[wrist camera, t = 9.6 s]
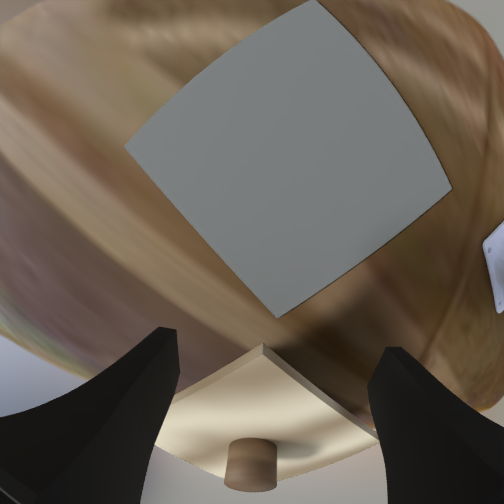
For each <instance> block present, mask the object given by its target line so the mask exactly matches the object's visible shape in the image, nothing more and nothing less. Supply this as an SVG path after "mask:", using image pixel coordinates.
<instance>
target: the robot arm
mask: <svg viewBox="0 0 504 504" xmlns="http://www.w3.org/2000/svg"><path fill="white" fill-rule="evenodd" d="M488 249H489V250H488ZM483 251H484V254H485V258H486V262H487V266H488V270H489V275H490V279H491V284H492V289H493V295H494V300H495V306H496V311H497V313H501V312H502V311H503V310H504V221H503V222H502V223H501V224H500V225H499V226H498V227H497V228H496V229H495V230H494V231H493V232H492V234H491V235H490V236H489V237H488V238H487V239H486V240H485V241H484V242H483ZM179 374H180V367H179V356H178V345H177V332H176V330H175V329H170V328H164V327H158V328H157V329H155V330H154V331H153V332H152V333H151V334H149V335H148V336H147V337H146V338H145V339H143V340H142V341H141V342H140V343H139V344H137V345H136V346H135V347H134V348H133V349H131V350H130V351H129V352H128V353H126V354H125V355H124V356H123V357H121V358H120V359H119V360H117V361H116V362H115V363H114V364H112V365H111V366H109V367H108V368H107V369H105V370H104V371H102V372H101V373H100V374H98V375H97V376H95V377H94V378H92V379H91V380H89V381H88V382H86V383H84V384H83V385H81V386H79V387H78V388H76V389H74V390H72V391H70V392H69V393H67V394H65V395H63V396H61V397H58V398H56V399H54V400H51V401H49V402H47V403H45V404H42V405H40V406H37V407H35V408H32V409H29V410H26V411H23V412H20V413H16V414H13V415H9V416H5V417H0V504H140V500H141V495H142V490H143V485H144V481H145V476H146V472H147V468H148V464H149V460H150V456H151V453H152V450H153V447H154V445H155V442H156V440H157V437H158V435H159V432H160V430H161V427H162V425H163V422H164V420H165V417H166V415H167V412H168V410H169V407H170V405H171V402H172V400H173V397H174V393H175V390H176V386H177V382H178V378H179ZM367 387H368V395H369V402H370V408H371V413H372V416H373V420H374V424H375V427H376V431H377V435H378V438H379V442H380V446H381V449H382V453H383V457H384V462H385V468H386V477H387V492H388V504H504V427H502V426H500V425H499V424H497V423H495V422H493V421H491V420H489V419H488V418H486V417H485V416H483V415H481V414H480V413H479V412H477V411H476V410H474V409H473V408H471V407H470V406H468V405H467V404H466V403H464V402H463V401H462V400H461V399H459V398H458V397H457V396H456V395H455V394H453V393H452V392H451V391H450V390H449V389H447V388H446V387H445V386H444V385H443V384H442V383H441V382H440V381H438V380H437V379H436V378H435V377H434V376H433V375H432V374H431V373H430V372H429V371H428V370H426V369H425V368H424V367H423V366H422V365H421V364H420V363H419V362H418V361H417V360H416V359H414V358H413V357H412V356H411V355H410V354H409V353H408V352H406V351H405V350H404V349H403V348H401V347H386V348H385V351H384V353H383V355H382V357H381V359H380V362H379V364H378V366H377V368H376V370H375V372H374V374H373V376H372V378H371V380H370V382H369V384H368V386H367Z"/></svg>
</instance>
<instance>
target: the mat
mask: <svg viewBox="0 0 504 504" xmlns="http://www.w3.org/2000/svg"><path fill="white" fill-rule="evenodd" d="M124 147H125V148H126V150H127V151H128V152H129V153H130V154H131V156H132V157H133V158H134V159H135V160H136V161H137V163H138V164H139V165H140V166H141V167H142V169H143V170H144V171H145V172H146V173H147V174H148V176H149V177H150V178H151V179H152V180H153V181H154V183H155V184H156V185H157V186H158V187H159V188H160V190H161V191H162V192H163V193H164V194H165V195H166V196H167V198H168V199H169V200H170V201H171V202H172V203H173V204H174V206H175V207H176V208H177V209H178V210H179V211H180V212H181V214H182V215H183V216H184V217H185V218H186V219H187V220H188V222H189V223H190V224H191V225H192V226H193V227H194V228H195V229H196V231H197V232H198V233H199V234H200V235H201V236H202V237H203V238H204V240H205V241H206V242H207V243H208V244H209V245H210V246H211V247H212V248H213V250H214V251H215V252H216V253H217V254H218V255H219V256H220V257H221V258H222V259H223V261H224V262H225V263H226V264H227V265H228V266H229V267H230V268H231V269H232V270H233V272H234V273H235V274H236V275H237V276H238V277H239V278H240V279H241V280H242V281H243V282H244V284H245V285H246V286H247V287H248V288H249V289H250V290H251V291H252V292H253V293H254V294H255V295H256V296H257V298H258V299H259V300H260V301H261V302H262V303H263V304H264V305H265V306H266V307H267V308H268V309H269V310H270V311H271V312H272V314H273V315H274V316H275V317H276V318H279V317H280V316H282V315H283V314H285V313H287V312H288V311H290V310H291V309H293V308H294V307H296V306H297V305H299V304H300V303H302V302H303V301H305V300H306V299H308V298H309V297H311V296H312V295H314V294H315V293H317V292H318V291H320V290H321V289H323V288H324V287H326V286H327V285H329V284H330V283H332V282H333V281H334V280H336V279H337V278H339V277H340V276H342V275H343V274H344V273H346V272H347V271H349V270H350V269H351V268H353V267H354V266H356V265H357V264H358V263H360V262H361V261H362V260H364V259H365V258H367V257H368V256H369V255H371V254H372V253H373V252H375V251H376V250H377V249H379V248H380V247H381V246H383V245H384V244H385V243H387V242H388V241H389V240H390V239H392V238H393V237H394V236H396V235H397V234H398V233H399V232H401V231H402V230H403V229H405V228H406V227H407V226H408V225H410V224H411V223H412V222H413V221H415V220H416V219H417V218H418V217H419V216H421V215H422V214H423V213H424V212H426V211H427V210H428V209H429V208H430V207H432V206H433V205H434V204H435V203H436V202H437V201H439V200H440V199H441V198H442V197H443V196H445V195H446V194H447V193H448V192H449V191H450V190H451V189H452V187H451V185H450V183H449V181H448V179H447V176H446V174H445V172H444V170H443V168H442V166H441V164H440V162H439V160H438V158H437V156H436V154H435V152H434V150H433V149H432V147H431V145H430V143H429V141H428V139H427V138H426V136H425V134H424V132H423V131H422V129H421V127H420V126H419V124H418V122H417V121H416V119H415V118H414V116H413V114H412V113H411V111H410V110H409V108H408V107H407V105H406V104H405V102H404V101H403V99H402V98H401V96H400V95H399V93H398V92H397V90H396V89H395V88H394V86H393V85H392V84H391V82H390V81H389V79H388V78H387V77H386V75H385V74H384V73H383V72H382V70H381V69H380V68H379V66H378V65H377V64H376V63H375V62H374V60H373V59H372V58H371V57H370V55H369V54H368V53H367V52H366V51H365V50H364V48H363V47H362V46H361V45H360V44H359V43H358V42H357V41H356V39H355V38H354V37H353V36H352V35H351V34H350V33H349V32H348V31H347V30H346V29H345V28H344V27H343V26H342V25H341V24H340V23H339V22H338V21H337V20H336V19H335V18H334V17H333V16H332V15H331V14H330V13H329V12H328V11H327V10H326V9H325V8H324V7H323V6H322V5H320V4H319V3H318V2H317V1H316V0H309V1H307V2H305V3H304V4H302V5H300V6H298V7H296V8H294V9H292V10H291V11H289V12H287V13H285V14H283V15H282V16H280V17H278V18H277V19H275V20H273V21H272V22H270V23H268V24H267V25H265V26H264V27H262V28H260V29H259V30H257V31H256V32H254V33H253V34H251V35H250V36H248V37H247V38H245V39H244V40H242V41H241V42H240V43H238V44H237V45H235V46H234V47H233V48H231V49H230V50H228V51H227V52H226V53H224V54H223V55H222V56H220V57H219V58H218V59H216V60H215V61H214V62H213V63H211V64H210V65H209V66H208V67H206V68H205V69H204V70H203V71H201V72H200V73H199V74H198V75H197V76H195V77H194V78H193V79H192V80H191V81H190V82H188V83H187V84H186V85H185V86H184V87H183V88H182V89H180V90H179V91H178V92H177V93H176V94H175V95H174V96H173V97H172V98H171V99H170V100H168V101H167V102H166V103H165V104H164V105H163V106H162V107H161V108H160V109H159V110H158V111H157V112H156V113H155V114H154V115H153V116H152V117H151V118H150V119H149V120H148V121H147V122H146V123H145V124H144V125H143V126H142V127H141V128H140V130H139V131H138V132H137V133H136V134H135V135H134V136H133V137H132V138H131V139H130V140H129V141H128V143H127V144H126V145H125V146H124Z"/></svg>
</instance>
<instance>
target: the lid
mask: <svg viewBox="0 0 504 504" xmlns="http://www.w3.org/2000/svg"><path fill="white" fill-rule="evenodd" d="M378 443H380V442H379V438H378V435H377V432H376V431H374V430H373V429H372V428H370V427H369V426H367V425H366V424H365V423H363V422H362V421H360V420H359V419H358V418H356V417H355V416H354V415H352V414H351V413H350V412H348V411H347V410H346V409H344V408H343V407H342V406H340V405H339V404H338V403H336V402H335V401H334V400H332V399H331V398H330V397H329V396H327V395H326V394H325V393H323V392H322V391H321V390H320V389H318V388H317V387H316V386H315V385H313V384H312V383H311V382H310V381H308V380H307V379H306V378H305V377H303V376H302V375H301V374H300V373H298V372H297V371H296V370H295V369H294V368H292V367H291V366H290V365H289V364H287V363H286V362H285V361H284V360H283V359H281V358H280V357H279V356H278V355H277V354H276V353H274V352H273V351H272V350H271V349H270V348H268V347H267V346H266V345H265V344H264V343H262V344H260V345H259V346H257V347H255V348H254V349H252V350H251V351H249V352H248V353H246V354H244V355H243V356H241V357H240V358H238V359H236V360H235V361H233V362H231V363H230V364H228V365H227V366H225V367H223V368H222V369H220V370H218V371H216V372H215V373H213V374H211V375H210V376H208V377H206V378H204V379H203V380H201V381H199V382H197V383H196V384H194V385H192V386H190V387H188V388H187V389H185V390H183V391H181V392H179V393H177V394H176V395H174V397H173V400H172V402H171V405H170V407H169V410H168V412H167V415H166V417H165V420H164V422H163V425H162V427H161V430H160V432H159V435H158V437H157V440H156V442H155V445H156V446H158V447H160V448H161V449H163V450H165V451H167V452H169V453H171V454H172V455H174V456H176V457H178V458H180V459H182V460H184V461H186V462H188V463H190V464H192V465H195V466H196V467H198V468H201V469H203V470H205V471H207V472H210V473H212V474H214V475H217V476H219V477H221V478H224V479H225V480H224V484H225V485H226V486H227V487H229V488H231V489H234V490H238V491H244V492H265V491H269V490H272V489H274V488H276V486H277V481H280V480H284V479H287V478H291V477H294V476H298V475H301V474H304V473H307V472H310V471H313V470H316V469H319V468H322V467H325V466H327V465H330V464H333V463H335V462H337V461H340V460H343V459H345V458H347V457H350V456H352V455H355V454H357V453H359V452H361V451H363V450H365V449H367V448H370V447H372V446H374V445H376V444H378Z"/></svg>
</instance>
